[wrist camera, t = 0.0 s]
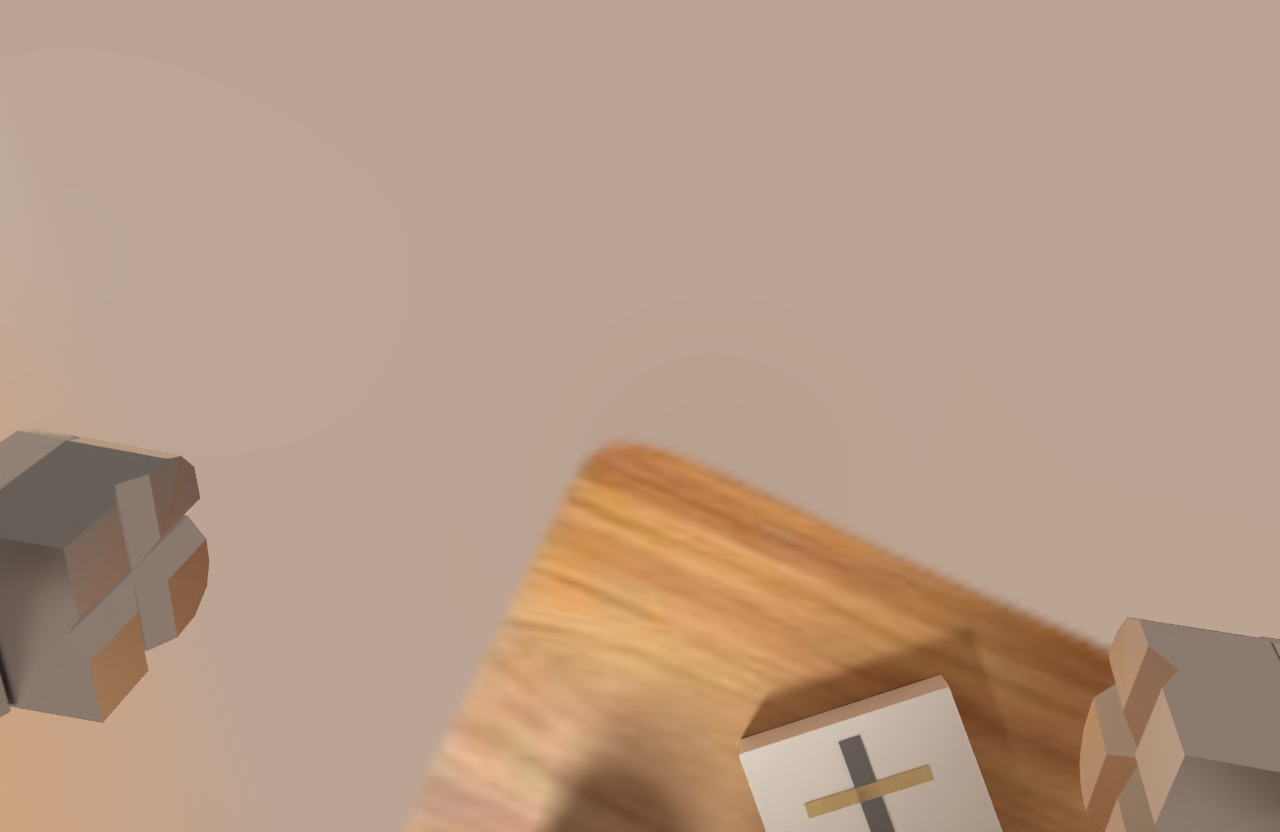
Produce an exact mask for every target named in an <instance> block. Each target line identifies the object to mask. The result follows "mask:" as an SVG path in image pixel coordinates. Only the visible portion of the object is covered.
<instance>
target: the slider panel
mask: <svg viewBox="0 0 1280 832" xmlns="http://www.w3.org/2000/svg"><path fill="white" fill-rule="evenodd" d="M738 755H739V758H740V761H741V763H742V766H743V769H744V772H745V775H746V777H747V780H748V783H749V786H750V789H751V791H752V794H753V797H754V800H755V803H756V805H757V808H758V811H759V814H760V817H761V819H762V822H763V825H764V828H765V831H766V832H1003V831H1002V828H1001V825H1000V823H999V820H998V817H997V815H996V812H995V809H994V807H993V804H992V801H991V798H990V796H989V793H988V790H987V788H986V785H985V782H984V779H983V777H982V774H981V771H980V769H979V766H978V763H977V761H976V758H975V755H974V752H973V750H972V747H971V744H970V742H969V739H968V736H967V734H966V731H965V728H964V725H963V723H962V720H961V717H960V715H959V712H958V709H957V706H956V704H955V701H954V698H953V696H952V693H951V690H950V688H949V686H948V684H947V682H946V681H945V679H944V678H943V676H942V674H941V675H938V676H935V677H932V678H929V679H925V680H922V681H919V682H916V683H913V684H910V685H907V686H904V687H901V688H898V689H895V690H892V691H888V692H885V693H882V694H879V695H876V696H873V697H870V698H867V699H864V700H861V701H858V702H855V703H851V704H848V705H845V706H842V707H839V708H836V709H833V710H830V711H827V712H824V713H821V714H818V715H814V716H811V717H808V718H805V719H802V720H799V721H796V722H793V723H790V724H787V725H784V726H781V727H777V728H774V729H771V730H768V731H765V732H762V733H759V734H756V735H753V736H750V737H747V738H743V739H741V741H740V747H739V754H738Z"/></svg>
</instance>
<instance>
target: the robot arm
mask: <svg viewBox="0 0 1280 832" xmlns="http://www.w3.org/2000/svg"><path fill="white" fill-rule="evenodd" d="M199 499H200V494H199V489H198V484H197V479H196V474H195V469H194V467H193V466H192V465H191V464H190V463H189V462H187V461H186V460H185V459H184V458H183V457H182V456H177V455H172V454H167V453H162V452H156V451H151V450H146V449H141V448H136V447H130V446H125V445H120V444H114V443H110V442H104V441H99V440H94V439H89V438H79V437H76V436H72V435H67V434H60V433H54V432H48V431H42V430H36V429H35V430H23V431H16V432H15V433H13V434H12V435H10V436H9V437H7V438H6V439H4V440H3V441H1V442H0V717H1V716H3V715H5V714H7V713H9V712H10V707H16V708H21V709H27V710H33V711H39V712H44V713H50V714H56V715H62V716H67V717H73V718H79V719H84V720H90V721H96V722H104V721H105V719H106V718H107V717H108V716H109V715H110V714H111V713H112V711H113V710H114V709H115V708H116V707H117V706H118V705H119V704H120V702H121V701H122V700H123V699H124V698H125V697H126V696H127V694H128V693H129V692H130V691H131V690H132V689H133V688H134V686H135V685H136V684H137V683H138V682H139V681H140V680H141V678H142V677H143V676H144V675H145V674H146V673H147V672H148V661H147V651H148V650H150V649H152V648H154V647H157V646H159V645H161V644H163V643H166V642H168V641H170V640H172V639H174V638H177V637H178V636H179V635H180V633H181V632H182V631H183V630H184V628H185V627H186V626H187V625H188V624H189V622H190V621H191V620H192V619H193V617H194V616H195V614H196V612H197V609H198V607H199V604H200V602H201V599H202V597H203V595H204V592H205V590H206V587H207V578H208V569H209V556H208V548H207V541H206V538H205V537H204V536H203V534H202V533H201V532H200V531H199V529H198V528H197V527H196V526H195V524H194V523H193V522H192V521H191V520H190V518H189V517H188V515H189V513H190V512H191V510H192V509H193V508H194V506H195V505H196V504H197V502H198V500H199ZM1108 657H1109V661H1110V665H1111V668H1112V672H1113V676H1114V680H1115V683H1116V684H1114V685H1112V686H1111V687H1109V688H1108V689H1106V690H1105V691H1103V692H1102V693H1100V694H1098V695H1097V696H1095V697H1094V698H1093V700H1092V704H1091V707H1090V710H1089V713H1088V716H1087V719H1086V723H1085V726H1084V729H1083V736H1082V744H1081V752H1080V760H1079V765H1080V784H1081V792H1082V797H1083V802H1084V807H1085V812H1086V813H1087V814H1088V815H1089V816H1090V818H1091V819H1092V820H1093V821H1094V822H1095V823H1096V824H1097V825H1098V826H1099V827H1100V828H1101V829H1102V830H1103V831H1104V832H1280V639H1274V638H1266V637H1259V638H1256V637H1250V636H1244V635H1237V634H1230V633H1224V632H1218V631H1212V630H1205V629H1199V628H1192V627H1186V626H1180V625H1173V624H1166V623H1161V622H1154V621H1147V620H1141V619H1135V618H1127V619H1126V620H1125V622H1124V623H1123V625H1122V626H1121V627H1120V629H1119V631H1118V632H1117V634H1116V637H1115V639H1114V642H1113V645H1112V647H1111V650H1110V653H1109V655H1108Z"/></svg>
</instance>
